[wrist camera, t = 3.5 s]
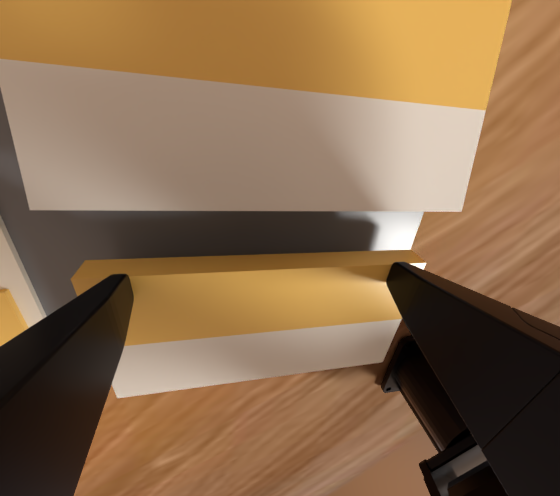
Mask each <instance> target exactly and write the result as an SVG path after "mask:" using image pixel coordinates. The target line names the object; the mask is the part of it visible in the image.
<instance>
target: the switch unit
mask: <svg viewBox="0 0 560 496" xmlns="http://www.w3.org/2000/svg"><path fill="white" fill-rule="evenodd" d="M423 213H424V212H414V211H104V210H30V209H29V205H28V201H27V196H26V192H25V188H24V184H23V180H22V176H21V171H20V167H19V163H18V159H17V155H16V151H15V146H14V142H13V138H12V134H11V130H10V126H9V121H8V117H7V113H6V109H5V105H4V101H3V96H2V92H1V88H0V346H2V345H3V344H5V343H6V342H8V341H9V340H11V339H12V338H14V337H16V336H17V335H19V334H20V333H22V332H23V331H25V330H26V329H28V328H29V327H31V326H33V325H34V324H36V323H37V322H39V321H40V320H42V319H43V318H45V317H46V316H48V315H50V314H51V313H53V312H54V311H56V310H57V309H59V308H60V307H62V306H63V305H65V304H67V303H68V302H70V301H71V300H73V299H74V298H76V297H77V294H76V292H75V289H74V287H73V284H72V282H71V278H72V277H73V275H74V274H75V273H76V272H77V270H78V269H79V268H80V266H81V265H82V264H83V262H84V261H85V260H106V259H137V258H167V257H198V256H228V255H259V254H289V253H320V252H350V251H381V250H410V249H411V246H412V243H413V241H414V238H415V235H416V232H417V230H418V227H419V224H420V221H421V219H422V216H423Z"/></svg>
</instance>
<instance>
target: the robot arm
mask: <svg viewBox="0 0 560 496" xmlns="http://www.w3.org/2000/svg"><path fill="white" fill-rule="evenodd" d="M386 284H387V287H388V289H389V291H390V293H391V296H392V298H393V300H394V302H395V304H396V306H397V308H398V310H399V312H400V315H401V317H402V318H403V320H404V322H405V324H406V326H407V327H408V329H409V331H410V332H411V334H412V337H406V338H403V339H402V340H401V341H400V342H399V345H398V347H397V350H396V352H395V354H394V357H393V359H392V361H391V364H390V366H389V368H388V371H387V373H386V375H385V378H384V380H383V382H382V385H381V388H382V390H383V392H385V393H388V392H394V391H400V392H401V393H402V395H403V397H404V398H405V400H406V401H407V403H408V405H409V406H410V408H411V409H412V411H413V413H414V414H415V416H416V418H417V419H418V421H419V422H420V424H421V426H422V427H423V429H424V430H425V432H426V434H427V435H428V437H429V438H430V440H431V442H432V443H433V445H434V446H435V448H436V450H437V451H438V454H437V455H435V456H433V457H432V458H430V459H428V460H423V461H422V462H420V463H419V466H420V469H421V471H422V473H423V476H424V481H425V483H426V486H427V488H428V490H429V493H430V495H431V496H560V327H559V326H557V325H554V324H552V323H549V322H547V321H544V320H542V319H539V318H537V317H534V316H532V315H530V314H527V313H525V312H522V311H520V310H518V309H515V308H511V307H510V306H508V305H506V304H503V303H501V302H499V301H496V300H494V299H492V298H489V297H487V296H485V295H482V294H480V293H477V292H475V291H473V290H470V289H468V288H466V287H463V286H461V285H459V284H456V283H454V282H451V281H449V280H447V279H444V278H442V277H440V276H437V275H435V274H433V273H430V272H428V271H426V270H423V269H421V268H418V267H416V266H414V265H411V264H409V263H407V262H394V263H393V264H392V266H391V268H390V271H389V274H388V276H387V279H386ZM133 302H134V295H133V290H132V286H131V282H130V278H129V276H128V275H127V274H112V275H110V276H108V277H107V278H105V279H104V280H102V281H101V282H99V283H97V284H96V285H94V286H93V287H91V288H90V289H88V290H87V291H85V292H84V293H82V294H80V295H79V296H77V297H76V298H74V299H73V300H71V301H70V302H68V303H67V304H65V305H63V306H62V307H60V308H59V309H57V310H56V311H54V312H53V313H51V314H50V315H48V316H46V317H45V318H43V319H42V320H40V321H39V322H37V323H36V324H34V325H33V326H31V327H29V328H28V329H26V330H25V331H23V332H22V333H20V334H19V335H17V336H16V337H14V338H12V339H11V340H9V341H8V342H6V343H5V344H3V345H2V346H0V496H74V493H75V490H76V487H77V484H78V481H79V478H80V475H81V472H82V469H83V466H84V463H85V461H86V458H87V455H88V452H89V449H90V446H91V443H92V440H93V437H94V434H95V431H96V428H97V425H98V422H99V420H100V417H101V414H102V411H103V408H104V405H105V402H106V399H107V396H108V393H109V390H110V387H111V384H112V382H113V379H114V376H115V373H116V370H117V367H118V364H119V361H120V358H121V355H122V352H123V349H124V345H125V341H126V336H127V331H128V326H129V322H130V317H131V312H132V307H133Z"/></svg>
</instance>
